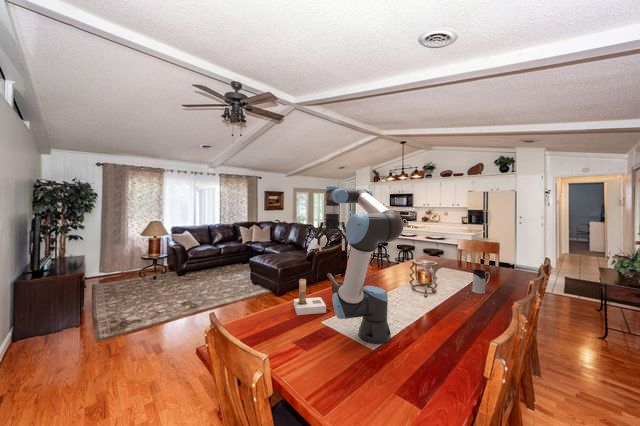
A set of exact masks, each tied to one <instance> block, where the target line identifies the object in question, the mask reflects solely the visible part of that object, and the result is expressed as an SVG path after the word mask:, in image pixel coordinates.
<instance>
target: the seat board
mask: <svg viewBox="0 0 640 426" xmlns="http://www.w3.org/2000/svg"><path fill="white" fill-rule="evenodd" d="M293 307H294V310H295V313H296V315H297V316H303V315H314V314H326V313H327V305H326V303H325V302H324V300H323V299H322V297H321V296H320V297H319V296H317V297H306V305H299V298H294V299H293Z"/></svg>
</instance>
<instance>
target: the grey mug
mask: <svg viewBox="0 0 640 426" xmlns="http://www.w3.org/2000/svg"><path fill="white" fill-rule="evenodd" d="M487 273H488V278H487V281H486V276H487V275H486V274H487ZM490 274H491V273H490V272H489V271H485V270H481V269H473V273H472V288H471V292H473V293H475V294H482V293H483V294H486V293H485V292H486V285H487V284H488V283H489V281H490V279H491V278H490V277H491V275H490Z"/></svg>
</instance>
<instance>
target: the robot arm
mask: <svg viewBox="0 0 640 426" xmlns="http://www.w3.org/2000/svg"><path fill="white" fill-rule="evenodd" d="M340 204H358V205H359V206H360V207H361V208H362V209H363V210H364V211H365V212H366V213H365V212H360V213H353V214H352V215H350V216H349V218H348V219H347V221H346V225H345V221H340V214H339V213H340ZM402 218H403V217H401V215H400V214H399V213H398V212H397V211H395V210H394V209H389V208H387V207H386V206H385V205H384V204H382V203H381V202H380V201H379V200H377V199H376V198H374V196H373V192H372V190H371V189H365V188H363V189H361V188H358V189H357V188H342V187H341V188H340V186H338V185H327V186H326V187H325V221H320V222H319V226H318V228H317V231H316V232H315V235H314V236H313V237H314V239H316V240H317V243H316V244H317V245H318V251H319V252H322V244H323V243H322V241H323V240H322V238H323V237H324V236H325V234H326V233H327V232H328V231H332V230H333V231H335V230H336V231H337V232H338V233H339V234H340V235H341V236H342V237H341V250H342V251H346V249H345V248H346V245H347V242H348V244H349V247H350V251H349V255H348V256H349V257H348V260H347V265H346V269H345V274H344V280H343V282H344V283H343V285H342V286H341V287H340V288H339V291H338V293H334V294H333V293H332V296H331V297H332V299H331V300H332V306H333V311H334V314H335V316H336V317H337V319H340V320H343V319H344V320H347V319H357V318H362V319H361V322H360V325H359V328H358V336H359V338H361V340H363V341H364V342H367V343H370V344H379V345H380V344H385V343H388V342H390V340H391V336H392V335H391V334H392V333H391V329H390V327H389V323H388V305H389V304H388V302H389V296H388V292H387V290H385V289H383V288H382V287H378V286H373V285H366V286H364V283H365V279H366V275H367V272H368V268H369V264H370V261H371V260H370V259H371V256H372V254H373V252H375V251H376V250H377V248H378V245H379V243H390V242H393V241H395V240H397V239H398V238H399V237H400V236H401V235H402V233H403V231H404V227H405V226H404V221H403V219H402ZM324 226H325V227H324ZM339 226H341V228H342V230H343V231H342V230H341V229H340V227H339ZM323 227H324V228H323ZM322 229H323V230H322ZM343 232H344V233H343Z"/></svg>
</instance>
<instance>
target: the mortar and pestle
mask: <svg viewBox="0 0 640 426" xmlns="http://www.w3.org/2000/svg"><path fill="white" fill-rule="evenodd" d="M326 278H328V280H329V281H330V282H331V292H332V295H333V294H334V293H338V291H339V288H340V287H341V286H342V285H343V283H344V281H339V280H337V281H336V280H335V278H334V276H333V275H332V273H330V272H328V273H327V274H326Z"/></svg>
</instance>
